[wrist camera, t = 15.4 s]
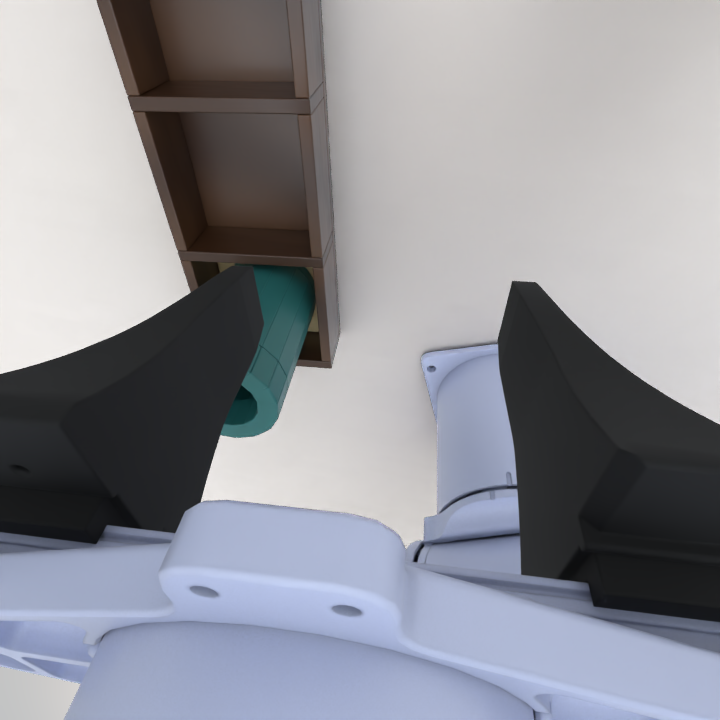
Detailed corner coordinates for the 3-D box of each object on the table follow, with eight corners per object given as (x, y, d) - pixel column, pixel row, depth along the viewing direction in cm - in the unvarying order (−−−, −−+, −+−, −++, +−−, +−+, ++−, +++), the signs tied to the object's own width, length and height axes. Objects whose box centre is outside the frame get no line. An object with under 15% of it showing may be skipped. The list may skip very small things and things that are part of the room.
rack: (340, 333, 26) (331, 369, 24) (230, 325, 27) (212, 359, 25) (311, -160, 13) (287, -180, 11) (103, -151, 14) (41, -168, 12)
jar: (329, 316, 24) (295, 433, 19) (254, 328, 26) (200, 441, 20) (298, 240, 22) (246, 351, 16) (215, 258, 23) (139, 366, 17)
